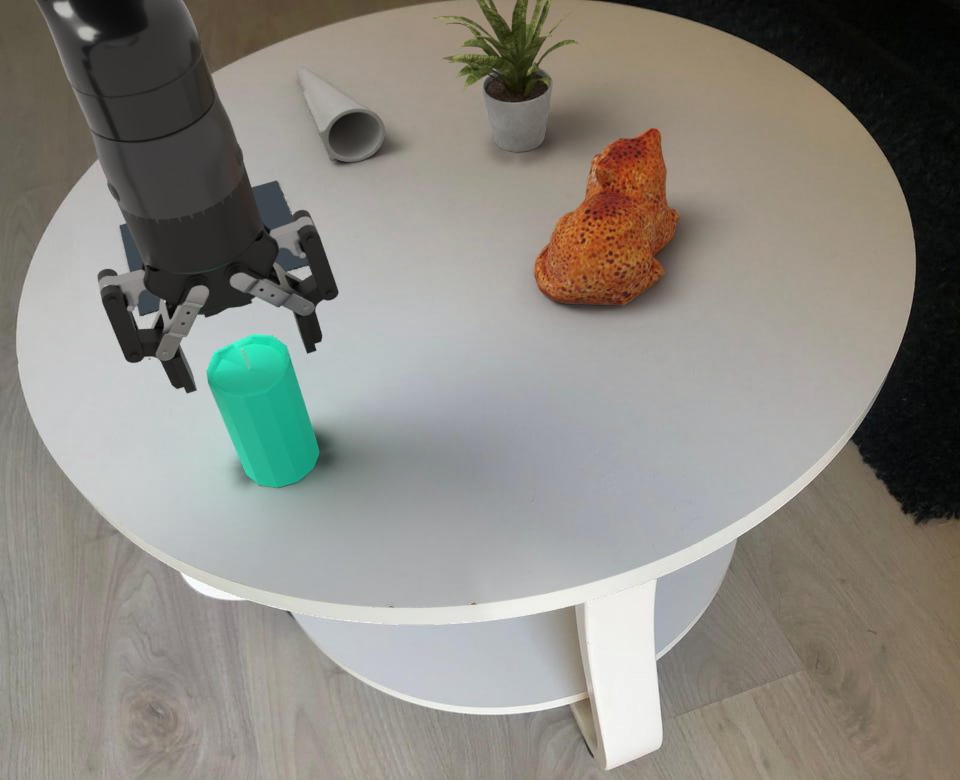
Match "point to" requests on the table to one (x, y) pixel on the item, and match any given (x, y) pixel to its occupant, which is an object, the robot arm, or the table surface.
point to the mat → (272, 216)
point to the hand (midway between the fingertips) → (249, 364)
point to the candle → (263, 409)
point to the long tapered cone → (341, 119)
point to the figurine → (612, 229)
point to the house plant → (511, 74)
